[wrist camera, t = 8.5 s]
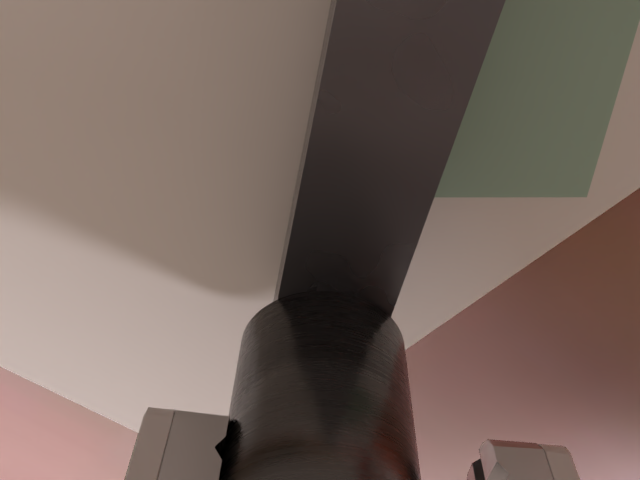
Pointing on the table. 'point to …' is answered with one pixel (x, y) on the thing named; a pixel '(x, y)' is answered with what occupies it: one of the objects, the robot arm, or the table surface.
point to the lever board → (261, 179)
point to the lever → (355, 245)
